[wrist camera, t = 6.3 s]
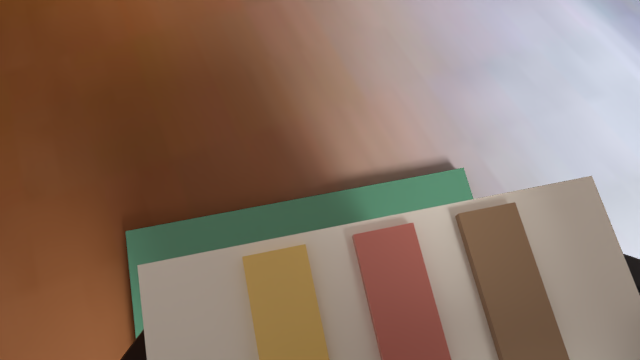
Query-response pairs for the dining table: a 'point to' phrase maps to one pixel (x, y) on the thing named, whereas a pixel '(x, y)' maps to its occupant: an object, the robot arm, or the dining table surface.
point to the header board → (287, 220)
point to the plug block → (409, 288)
